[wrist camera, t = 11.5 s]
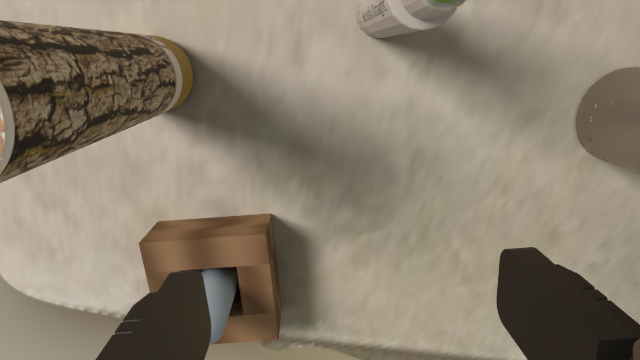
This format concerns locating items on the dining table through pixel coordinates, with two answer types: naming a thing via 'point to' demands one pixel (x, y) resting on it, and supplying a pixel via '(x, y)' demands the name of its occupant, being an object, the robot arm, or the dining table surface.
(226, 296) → the peg
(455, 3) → the bottle
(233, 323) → the socket block
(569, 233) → the dining table surface
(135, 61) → the brown bark cylinder
